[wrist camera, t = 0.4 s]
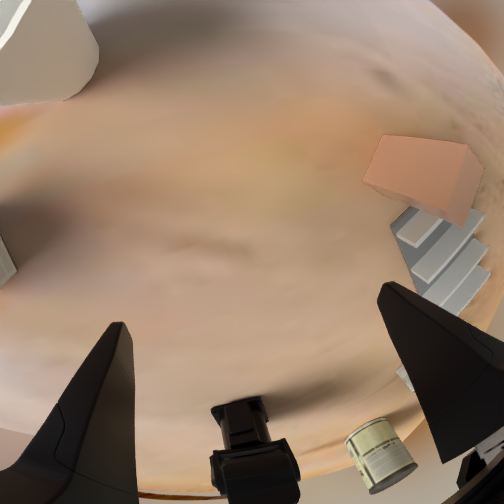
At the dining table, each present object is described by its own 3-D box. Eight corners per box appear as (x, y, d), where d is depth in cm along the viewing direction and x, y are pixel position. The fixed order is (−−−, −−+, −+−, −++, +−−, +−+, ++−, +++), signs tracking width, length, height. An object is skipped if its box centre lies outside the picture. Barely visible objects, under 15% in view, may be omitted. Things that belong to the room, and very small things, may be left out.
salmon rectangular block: (383, 195, 24) (462, 228, 15) (362, 181, 23) (444, 210, 14) (402, 151, 23) (484, 168, 14) (382, 134, 22) (468, 144, 13)
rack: (427, 322, 33) (441, 335, 30) (389, 225, 25) (412, 237, 22) (475, 268, 32) (490, 278, 29) (452, 162, 24) (475, 168, 21)
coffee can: (392, 421, 46) (421, 466, 33) (354, 447, 47) (378, 493, 34) (379, 412, 41) (414, 465, 29) (335, 441, 42) (363, 496, 30)
